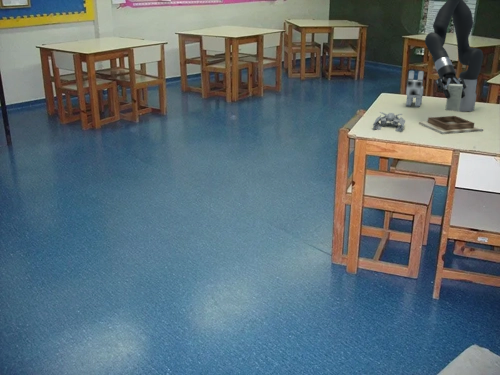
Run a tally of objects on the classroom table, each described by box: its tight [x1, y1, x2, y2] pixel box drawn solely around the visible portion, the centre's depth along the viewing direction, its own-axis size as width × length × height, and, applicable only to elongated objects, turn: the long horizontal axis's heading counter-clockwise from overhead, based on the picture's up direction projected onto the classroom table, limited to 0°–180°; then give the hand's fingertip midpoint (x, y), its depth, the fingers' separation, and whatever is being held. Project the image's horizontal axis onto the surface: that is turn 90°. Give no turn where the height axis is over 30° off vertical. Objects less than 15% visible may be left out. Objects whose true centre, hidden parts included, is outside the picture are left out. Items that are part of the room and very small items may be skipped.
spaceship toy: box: [372, 111, 406, 132], centre depth 254 cm, size 14×20×6 cm
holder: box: [418, 115, 484, 135], centre depth 254 cm, size 22×20×4 cm
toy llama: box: [405, 70, 425, 108], centre depth 297 cm, size 8×18×20 cm, turn 157°
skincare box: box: [445, 84, 463, 112], centre depth 249 cm, size 6×4×12 cm
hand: (456, 97), depth 248 cm, fingers closed on skincare box, 7 cm apart
